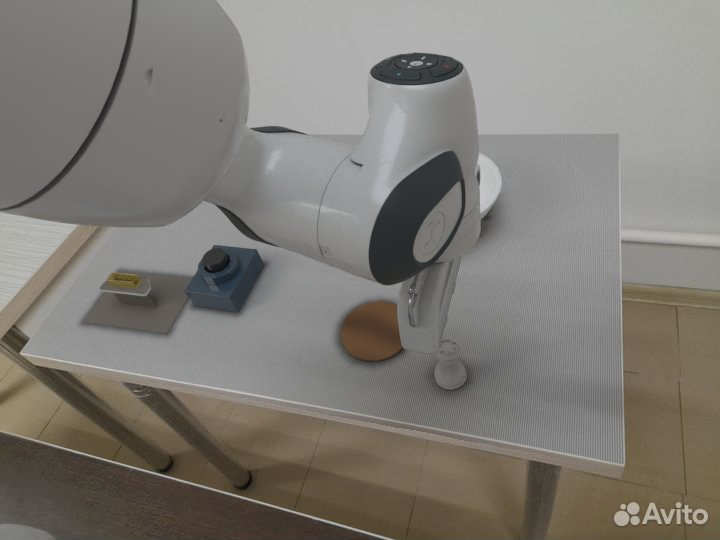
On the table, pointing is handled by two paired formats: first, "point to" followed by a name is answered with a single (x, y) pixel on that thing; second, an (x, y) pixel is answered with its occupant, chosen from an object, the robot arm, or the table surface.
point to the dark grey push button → (215, 260)
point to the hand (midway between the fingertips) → (443, 305)
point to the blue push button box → (226, 280)
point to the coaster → (372, 332)
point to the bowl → (488, 184)
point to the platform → (139, 302)
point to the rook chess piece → (449, 365)
